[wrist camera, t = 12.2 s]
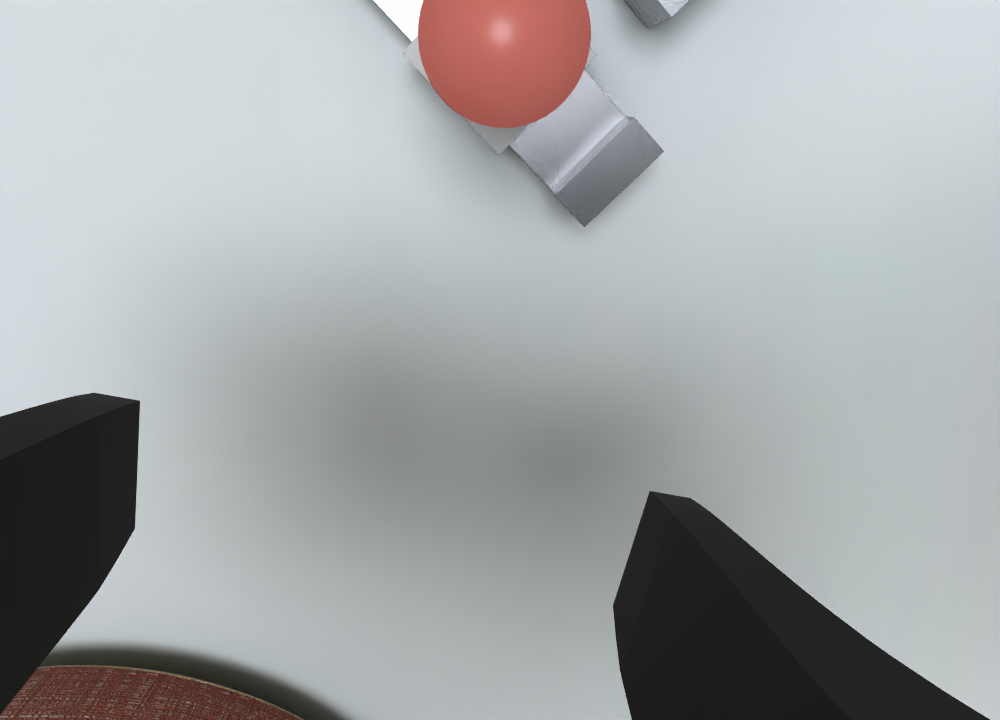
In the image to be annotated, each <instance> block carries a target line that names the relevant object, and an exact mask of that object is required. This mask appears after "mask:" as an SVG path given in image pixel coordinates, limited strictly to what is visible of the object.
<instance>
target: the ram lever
mask: <svg viewBox="0 0 1000 720" xmlns="http://www.w3.org/2000/svg"><path fill="white" fill-rule="evenodd" d="M590 40H591V25H590V18H589V12H588V8H587V4H586V1H585V0H423V3H422V6H421V10H420V15H419V22H418V36H417V37H416V38H415V39H414V40H413V41H412V42H411V43H410V44H409V46H408V47H407V48H406V49H405V50H404V51H403V52H402V54H403V55H404V56H405V57H406V58H407V59H408V60H409V61H410V62H411V63H412V64H413V66H414V67H415V68H416V69H417V70H418V71H419V72H420V73H421V74H422V75H423V76H424V77H425V78H426V79H427V80H428V81H429V82H430V83H431V84H432V86H433V88H434V89H435V91H436V92H437V94H438V95H439V96H440V97H441V98H442V100H443V101H444V102H445V103H446V104H447V105H448V106H450V107H451V108H452V109H453V110H454V111H456V112H457V113H458V114H460V115H461V116H462V117H463V118H464V119H465V120H466V121H467V122H468V123H469V124H470V126H471V127H472V128H473V129H474V130H475V131H476V132H477V133H478V134H479V135H480V136H481V137H482V138H483V139H484V140H485V141H486V142H487V143H488V144H489V146H490V147H491V148H492V149H493V150H494V151H495V152H496V153H497V154H498V155H500V154H501V153H502V152H503V151H504V150H505V149H506V148H507V147H508V146H509V145H510V144H511V143H512V142H513V141H514V140H515V139H516V138H517V137H518V136H519V135H520V134H521V133H522V132H523V131H524V129H525V128H526V127H527V126H528V125H529V124H530V123H533V122H536V121H538V120H540V119H542V118H544V117H546V116H547V115H549V114H550V113H551V112H553V111H554V110H556V109H557V108H558V107H559V106H560V105H561V104H562V103H563V102H564V101H565V100H566V99H567V98H568V97H569V95H570V94H571V93H572V91H573V90H574V88H575V87H576V85H577V84H578V82H579V80H580V78H581V76H582V74H583V71H584V68H585V67H586V66H587V65H588V64H589V63H590V62H591V61H592V60H593V59H594V58H595V57H596V56H597V54H596V53H595V52H594V51H593V49H592V48H591V47H590Z"/></svg>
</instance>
